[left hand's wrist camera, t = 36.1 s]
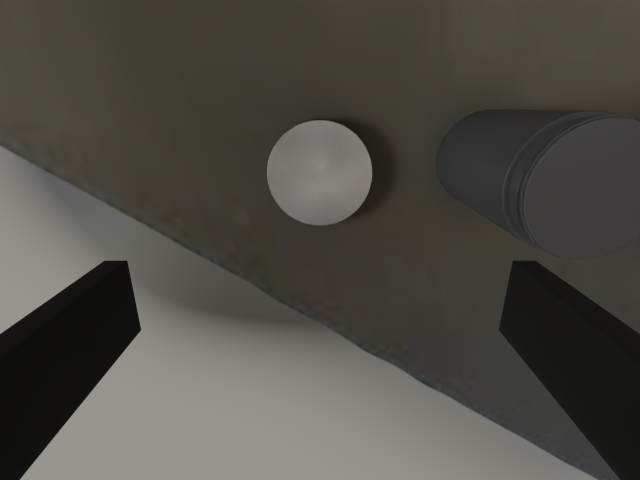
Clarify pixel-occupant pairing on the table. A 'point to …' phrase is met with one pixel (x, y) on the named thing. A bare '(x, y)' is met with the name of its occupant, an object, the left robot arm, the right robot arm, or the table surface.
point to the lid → (319, 172)
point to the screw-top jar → (549, 177)
